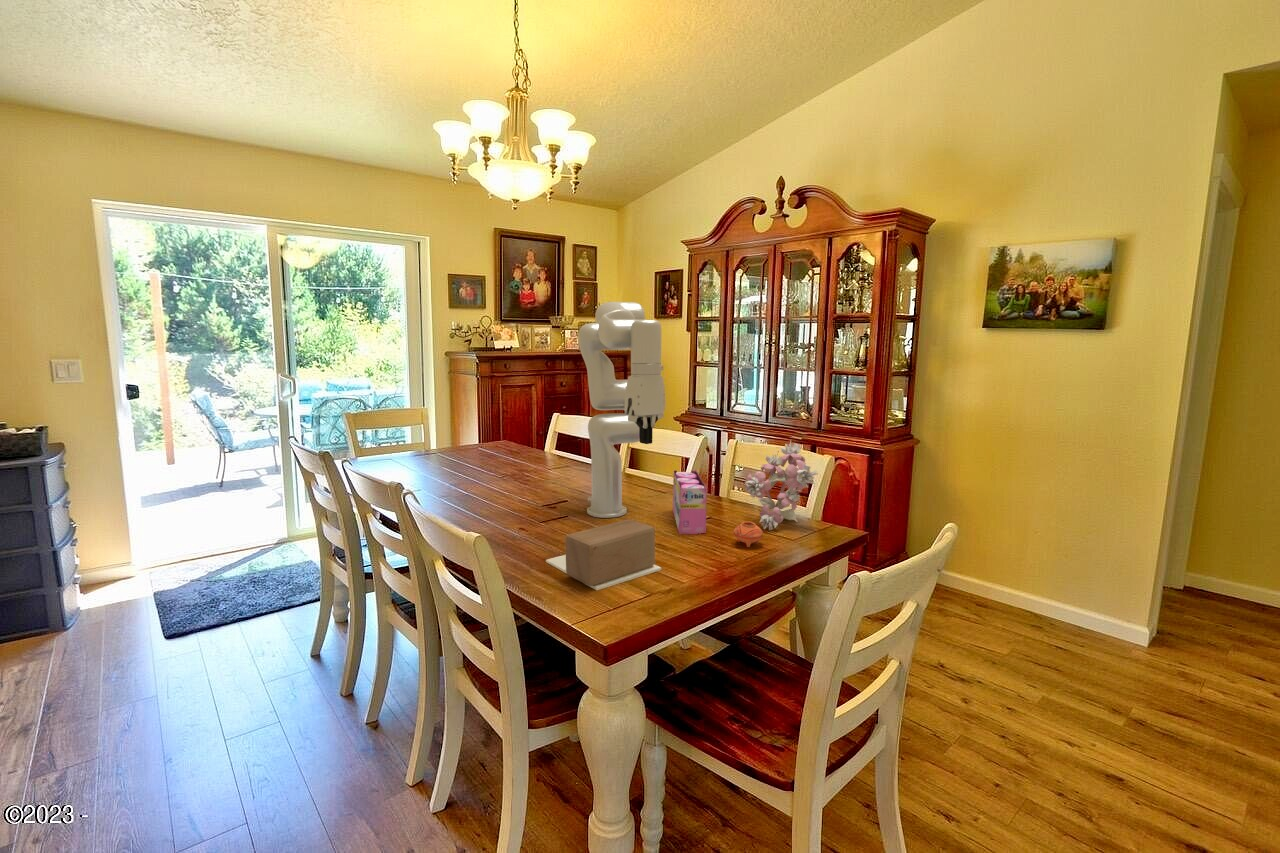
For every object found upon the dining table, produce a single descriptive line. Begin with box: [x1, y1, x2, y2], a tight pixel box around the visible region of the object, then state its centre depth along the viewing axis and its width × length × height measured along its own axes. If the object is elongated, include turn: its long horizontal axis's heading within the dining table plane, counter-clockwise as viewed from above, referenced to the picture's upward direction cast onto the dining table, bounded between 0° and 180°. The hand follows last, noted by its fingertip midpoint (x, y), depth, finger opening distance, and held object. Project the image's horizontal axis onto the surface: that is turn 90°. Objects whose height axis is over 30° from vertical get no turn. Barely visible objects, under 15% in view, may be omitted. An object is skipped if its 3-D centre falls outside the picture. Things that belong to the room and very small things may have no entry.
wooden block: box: [564, 518, 656, 587], centre depth 145 cm, size 10×10×20 cm
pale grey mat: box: [545, 554, 662, 591], centre depth 150 cm, size 22×19×1 cm
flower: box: [744, 439, 819, 531], centre depth 183 cm, size 20×22×25 cm
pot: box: [732, 520, 764, 548], centre depth 165 cm, size 8×8×7 cm
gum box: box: [672, 469, 708, 535], centre depth 185 cm, size 24×8×14 cm, turn 2°
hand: (645, 442), depth 155 cm, fingers closed
